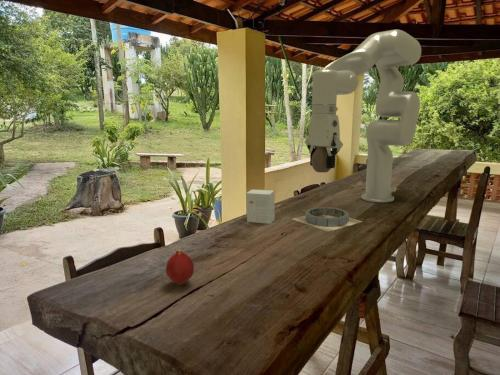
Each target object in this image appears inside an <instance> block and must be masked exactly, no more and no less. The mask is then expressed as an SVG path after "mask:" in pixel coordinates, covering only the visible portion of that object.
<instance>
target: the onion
mask: <svg viewBox="0 0 500 375" xmlns="http://www.w3.org/2000/svg"><path fill="white" fill-rule="evenodd" d="M194 270H195V265H194V262H193V259H192V258H191V257H190V256H189V255H188V254H186V253H185V252H183V251H182V250H181V249H177V250H176V251H175V253H174V254H172V255H171V257H169V259H168V260H167V263H166V266H165V273H166V275H167V278H168V279H169V280H170V281H171V282H174V283H175V284H177V285H179V286H182V285H185V283H187V282H188V281H189V280H190V279H191V278H192V277H193V274H194Z"/></svg>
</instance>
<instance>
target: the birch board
mask: <svg viewBox="0 0 500 375" xmlns="http://www.w3.org/2000/svg"><path fill="white" fill-rule="evenodd" d="M317 217H324V218H337V217H336V216H329V215H318V216H317ZM292 220H294V221H296V222H299V223H302V224H306V225H308V226H310V227H313V228H316V229H318V230H322V231H323V232H324V231H325V232H327V233H329V232H331V231H335V230H339V229H342V228H347V227H350V226H353V225H356V224H360V223H363V221H362V220H358V219H355V218H352V217H349V221H348V223H347V224H346V225H342V226H338V227H324V226H316V225H313V224H310V223H308V222H307V221H306V220H305V215H302V216H297V217H293V218H292Z"/></svg>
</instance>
